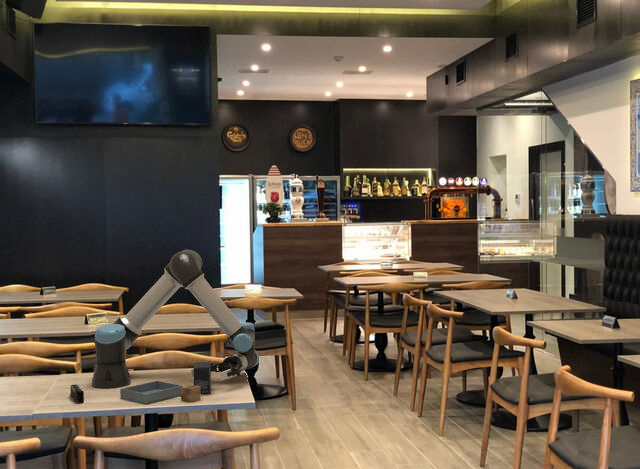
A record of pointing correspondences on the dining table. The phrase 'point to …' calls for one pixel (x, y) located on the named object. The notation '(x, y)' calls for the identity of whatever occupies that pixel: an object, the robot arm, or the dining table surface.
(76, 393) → the mobile phone
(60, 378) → the dining table surface
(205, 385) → the small box
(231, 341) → the robot arm
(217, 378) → the dining table surface
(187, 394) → the walnut cube
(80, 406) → the dining table surface
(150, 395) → the tray
